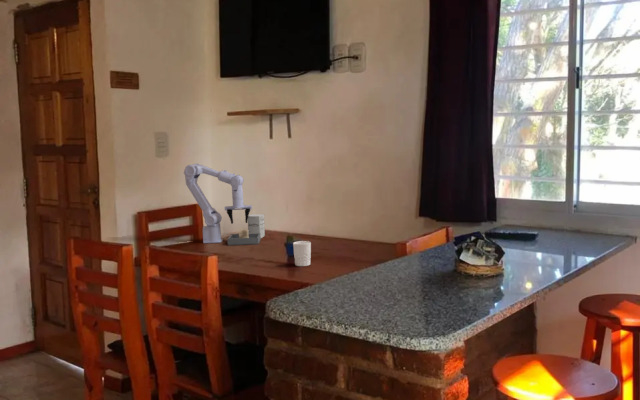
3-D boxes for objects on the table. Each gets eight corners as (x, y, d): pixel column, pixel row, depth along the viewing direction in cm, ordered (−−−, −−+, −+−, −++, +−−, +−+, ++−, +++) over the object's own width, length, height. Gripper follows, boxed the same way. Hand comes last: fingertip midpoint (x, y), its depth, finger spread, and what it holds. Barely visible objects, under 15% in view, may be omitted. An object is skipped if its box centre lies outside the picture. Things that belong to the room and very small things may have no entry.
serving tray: (227, 245, 343) (227, 238, 343) (231, 240, 357) (231, 234, 356) (258, 244, 343) (257, 237, 342) (260, 239, 357) (260, 233, 356)
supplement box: (247, 238, 362) (246, 215, 361) (253, 235, 369) (252, 213, 368) (260, 238, 360) (259, 215, 359) (265, 236, 367) (264, 213, 366)
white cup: (301, 262, 297) (301, 240, 295) (315, 264, 292) (314, 241, 290) (290, 265, 291) (289, 243, 289) (303, 267, 286) (302, 244, 284)
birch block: (239, 242, 347) (238, 231, 346) (240, 241, 351) (240, 230, 350) (247, 242, 346) (247, 231, 346) (248, 240, 351) (248, 229, 350)
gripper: (223, 199, 345) (224, 224, 347) (250, 198, 345) (251, 223, 346) (225, 197, 352) (226, 222, 354) (251, 196, 352) (253, 221, 353)
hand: (239, 223), depth 350 cm, fingers open, 7 cm apart
